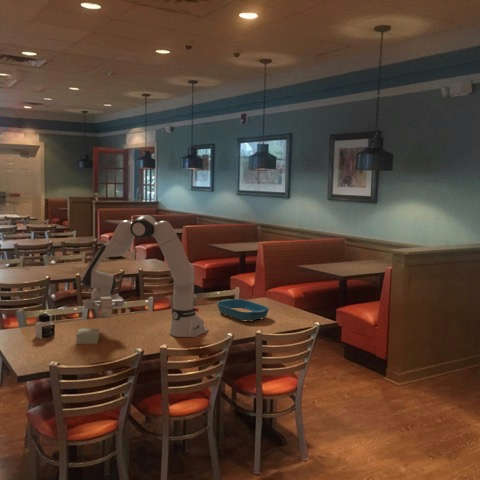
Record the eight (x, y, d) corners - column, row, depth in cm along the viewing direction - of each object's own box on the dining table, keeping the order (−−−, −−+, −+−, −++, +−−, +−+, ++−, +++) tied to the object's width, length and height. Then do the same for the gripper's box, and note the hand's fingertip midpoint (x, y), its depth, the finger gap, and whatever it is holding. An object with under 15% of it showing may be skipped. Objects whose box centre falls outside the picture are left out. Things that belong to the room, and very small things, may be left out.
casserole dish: (210, 311, 340) (210, 300, 340) (237, 307, 354) (238, 296, 353) (247, 325, 312) (247, 313, 311) (275, 320, 326) (275, 308, 325)
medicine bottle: (41, 339, 272) (41, 316, 271) (35, 336, 277) (35, 314, 275) (55, 337, 277) (54, 314, 276) (48, 333, 282) (48, 311, 281)
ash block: (100, 315, 277) (100, 297, 275) (109, 315, 279) (110, 296, 277) (101, 318, 272) (101, 299, 271) (111, 317, 274) (111, 298, 273)
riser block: (78, 338, 278) (79, 328, 277) (98, 337, 280) (98, 328, 279) (76, 344, 268) (76, 334, 268) (97, 343, 270) (97, 334, 269)
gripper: (82, 295, 282) (85, 301, 269) (121, 293, 290) (126, 299, 277) (81, 307, 283) (85, 314, 270) (121, 305, 291) (125, 311, 278)
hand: (106, 306), depth 274 cm, fingers closed on ash block, 5 cm apart
